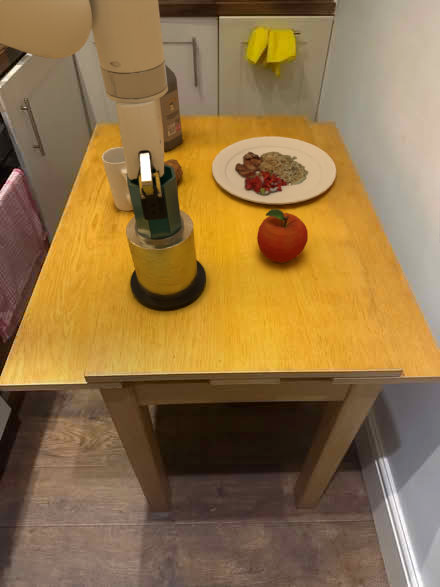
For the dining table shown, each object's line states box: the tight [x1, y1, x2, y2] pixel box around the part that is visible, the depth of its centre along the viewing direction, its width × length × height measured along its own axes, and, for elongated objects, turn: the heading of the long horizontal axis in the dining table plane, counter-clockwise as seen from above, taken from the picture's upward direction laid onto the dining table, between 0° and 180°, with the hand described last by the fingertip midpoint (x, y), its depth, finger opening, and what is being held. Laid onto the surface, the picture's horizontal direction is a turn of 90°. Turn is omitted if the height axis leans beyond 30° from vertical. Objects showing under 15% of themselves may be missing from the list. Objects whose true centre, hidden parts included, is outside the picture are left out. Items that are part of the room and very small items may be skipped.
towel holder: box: [125, 209, 207, 312], centre depth 71 cm, size 14×14×14 cm
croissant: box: [164, 158, 183, 183], centre depth 97 cm, size 14×7×5 cm, turn 172°
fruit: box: [256, 208, 309, 264], centre depth 77 cm, size 10×10×10 cm
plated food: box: [211, 135, 337, 205], centre depth 99 cm, size 30×30×3 cm
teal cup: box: [127, 164, 182, 239], centre depth 63 cm, size 7×7×9 cm
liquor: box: [159, 63, 183, 152], centre depth 101 cm, size 9×9×30 cm
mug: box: [101, 146, 133, 212], centre depth 88 cm, size 10×7×12 cm, turn 23°
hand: (155, 198), depth 61 cm, fingers open, 9 cm apart
